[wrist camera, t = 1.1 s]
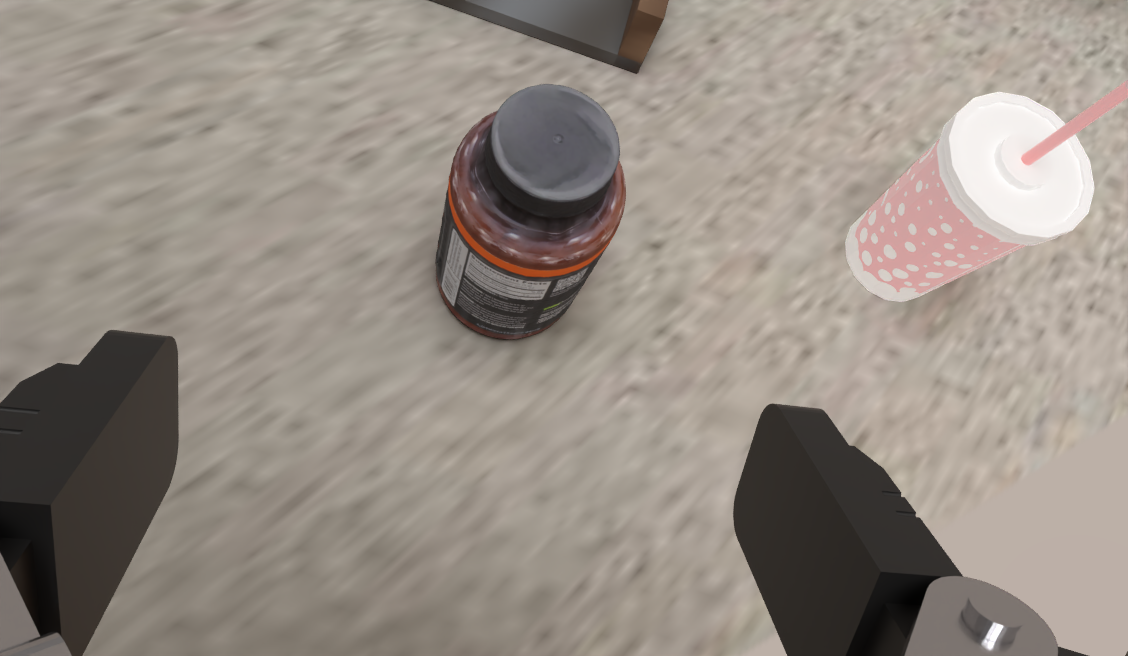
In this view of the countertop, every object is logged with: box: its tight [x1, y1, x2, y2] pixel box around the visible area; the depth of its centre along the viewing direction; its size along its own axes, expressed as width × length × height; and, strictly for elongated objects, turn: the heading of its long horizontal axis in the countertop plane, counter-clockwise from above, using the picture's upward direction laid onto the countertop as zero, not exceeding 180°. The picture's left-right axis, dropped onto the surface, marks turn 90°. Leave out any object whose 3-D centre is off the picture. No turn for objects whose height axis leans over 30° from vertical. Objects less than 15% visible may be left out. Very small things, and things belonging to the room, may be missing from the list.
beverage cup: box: [845, 80, 1128, 302], centre depth 34 cm, size 6×6×14 cm
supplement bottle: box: [436, 84, 626, 339], centre depth 31 cm, size 6×6×11 cm
